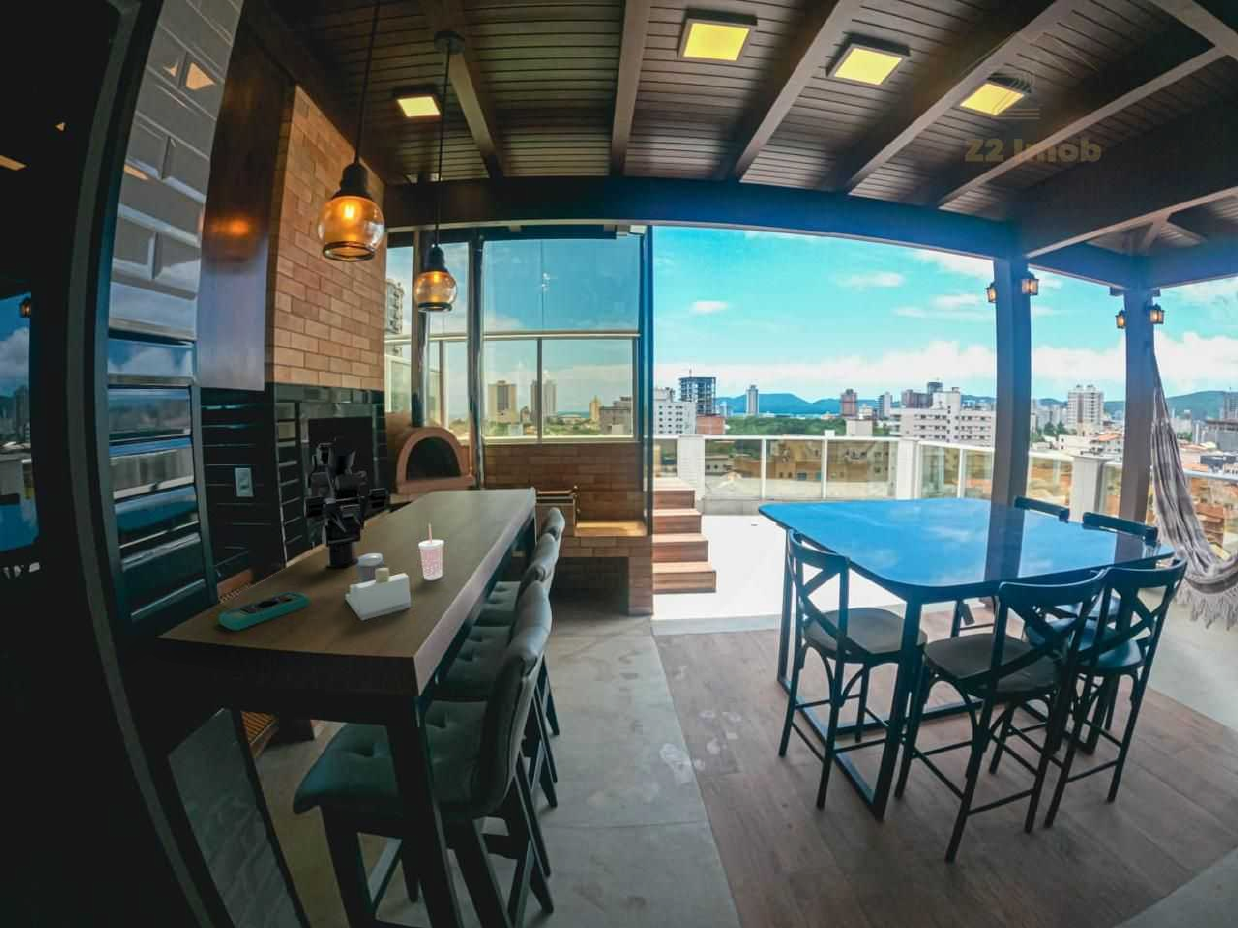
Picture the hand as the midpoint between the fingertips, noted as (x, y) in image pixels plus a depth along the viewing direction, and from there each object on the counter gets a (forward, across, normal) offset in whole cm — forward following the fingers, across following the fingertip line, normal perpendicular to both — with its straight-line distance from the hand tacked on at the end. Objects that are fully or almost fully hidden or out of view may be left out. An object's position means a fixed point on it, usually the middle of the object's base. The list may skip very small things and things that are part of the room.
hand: (354, 530), depth 123 cm
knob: (+18, 0, -1) cm, 18 cm away
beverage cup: (+16, +16, +4) cm, 23 cm away
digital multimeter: (+15, -20, +5) cm, 25 cm away
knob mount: (+22, 0, -3) cm, 22 cm away
